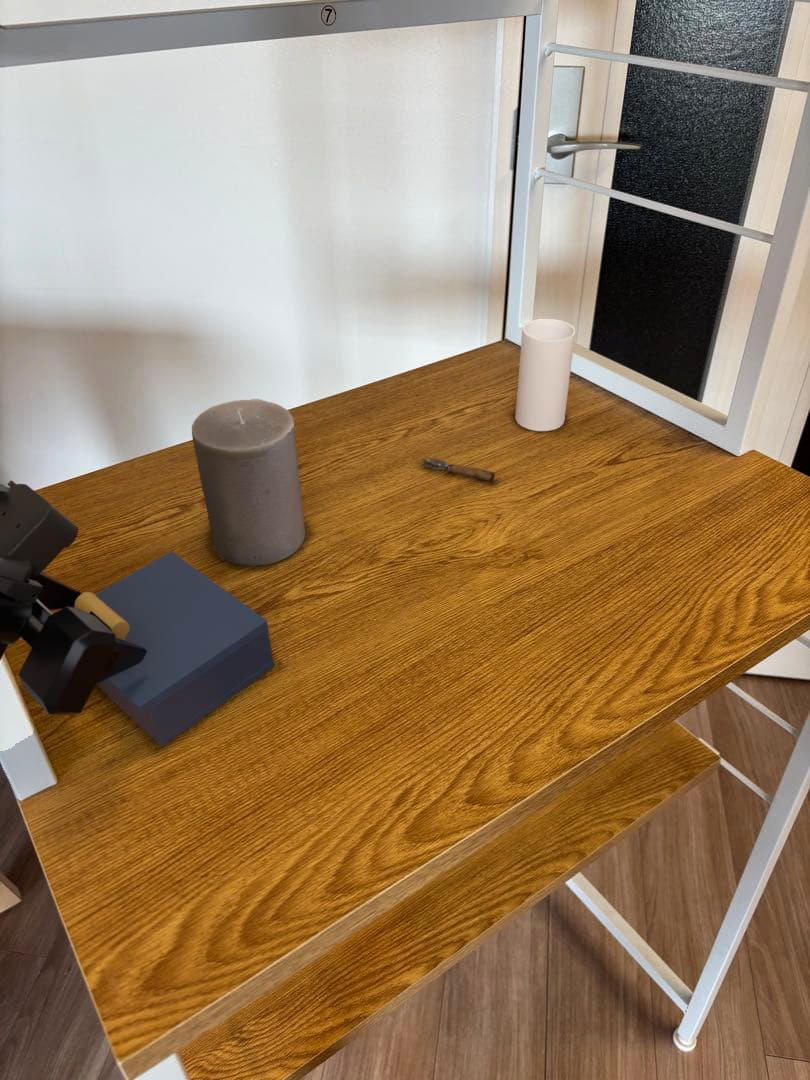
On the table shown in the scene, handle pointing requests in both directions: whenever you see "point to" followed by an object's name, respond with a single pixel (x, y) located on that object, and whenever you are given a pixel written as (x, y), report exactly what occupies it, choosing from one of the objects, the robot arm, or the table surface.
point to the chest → (201, 691)
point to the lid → (170, 626)
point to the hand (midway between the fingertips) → (111, 626)
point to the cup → (544, 374)
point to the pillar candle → (250, 481)
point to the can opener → (461, 469)
